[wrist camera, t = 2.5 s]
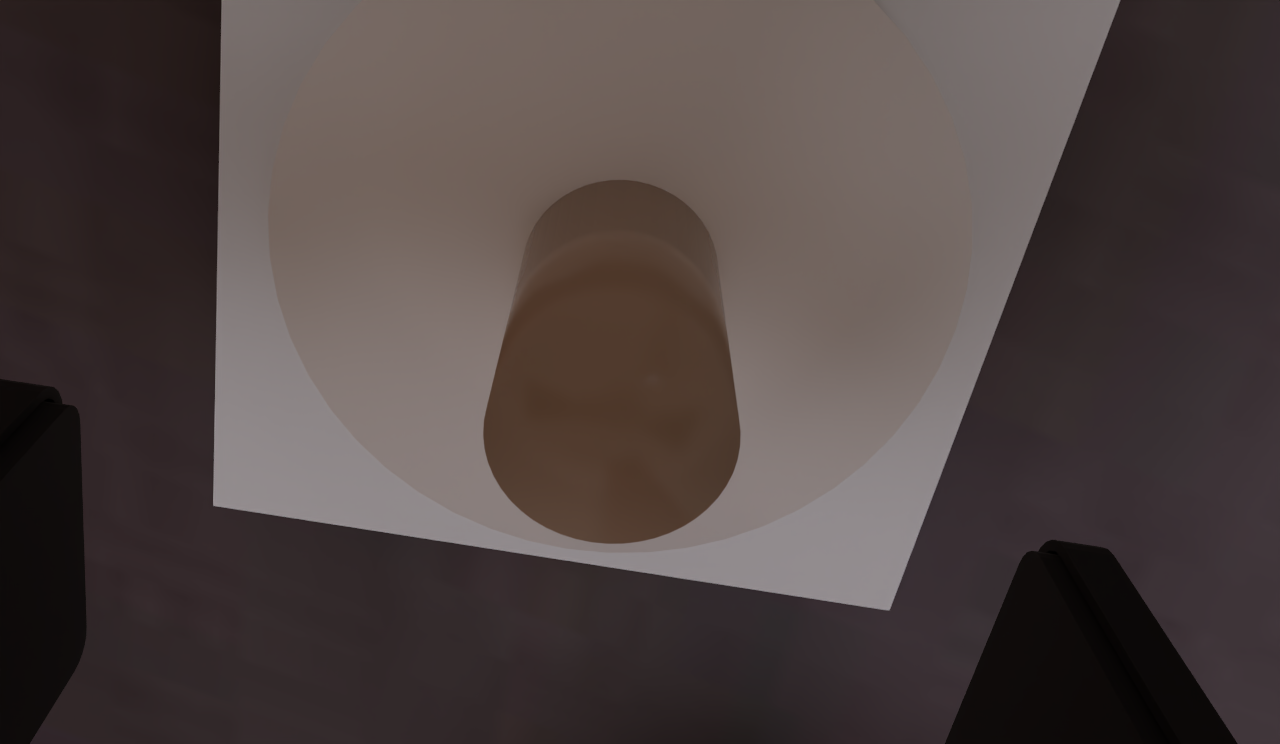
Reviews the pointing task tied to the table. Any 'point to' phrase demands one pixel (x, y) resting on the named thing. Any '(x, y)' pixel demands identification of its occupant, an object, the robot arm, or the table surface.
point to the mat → (758, 559)
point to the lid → (620, 254)
